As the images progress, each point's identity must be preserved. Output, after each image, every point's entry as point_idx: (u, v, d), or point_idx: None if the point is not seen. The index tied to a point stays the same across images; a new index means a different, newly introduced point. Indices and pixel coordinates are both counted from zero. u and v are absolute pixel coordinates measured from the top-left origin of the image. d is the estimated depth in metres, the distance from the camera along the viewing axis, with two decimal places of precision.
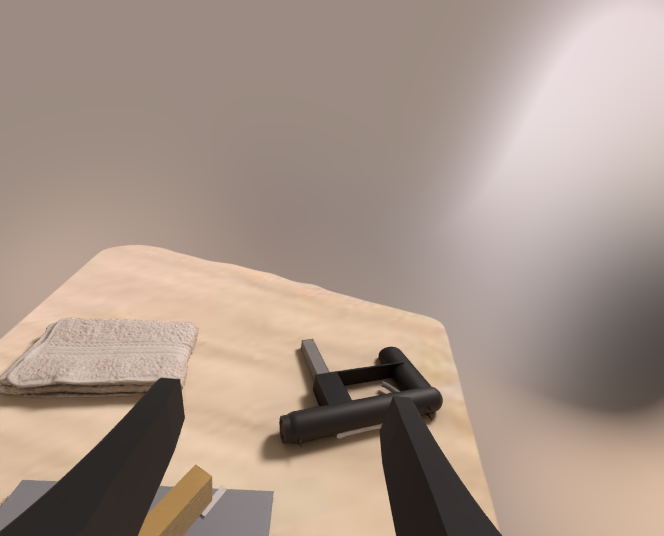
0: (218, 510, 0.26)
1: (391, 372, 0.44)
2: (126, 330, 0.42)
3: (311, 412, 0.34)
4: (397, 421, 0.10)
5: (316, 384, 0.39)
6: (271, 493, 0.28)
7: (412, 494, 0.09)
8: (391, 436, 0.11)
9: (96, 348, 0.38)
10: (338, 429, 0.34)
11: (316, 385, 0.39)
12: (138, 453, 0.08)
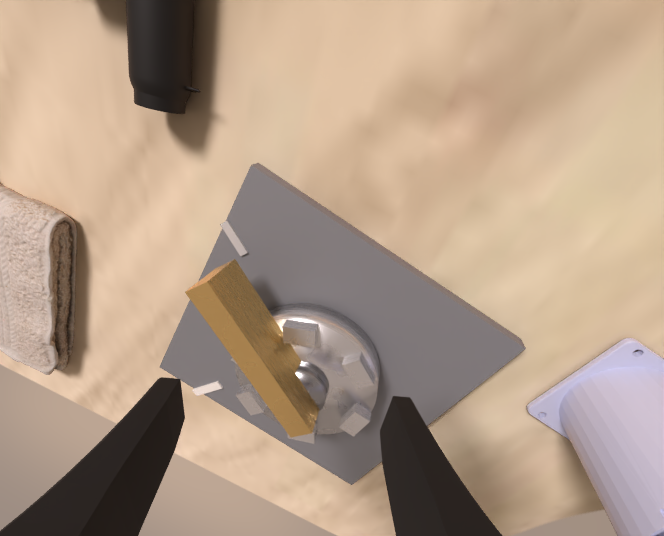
0: (246, 236, 0.21)
1: None
2: None
3: (136, 38, 0.16)
4: (397, 421, 0.10)
5: None
6: (252, 169, 0.19)
7: (412, 494, 0.09)
8: (391, 436, 0.11)
9: None
10: None
11: None
12: (138, 453, 0.08)
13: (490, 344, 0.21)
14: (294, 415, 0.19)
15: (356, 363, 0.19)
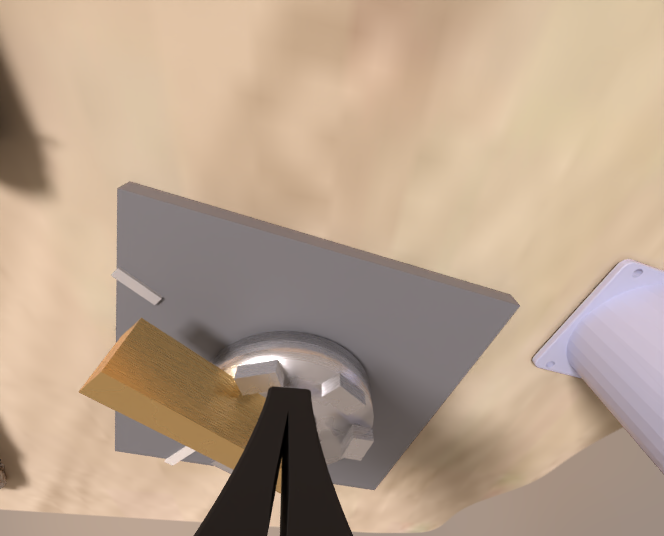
0: (152, 279, 0.16)
1: None
2: None
3: None
4: None
5: None
6: (122, 193, 0.14)
7: (285, 488, 0.09)
8: (285, 429, 0.10)
9: None
10: None
11: None
12: (278, 461, 0.09)
13: (481, 313, 0.17)
14: None
15: (338, 390, 0.16)
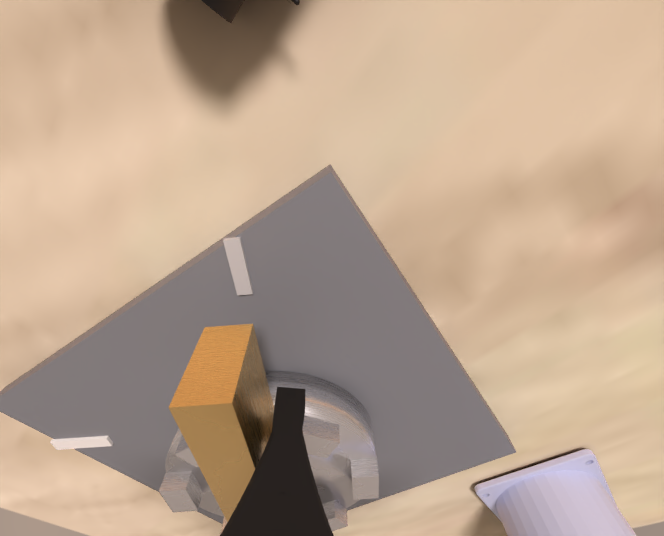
0: (262, 271, 0.12)
1: None
2: None
3: None
4: None
5: None
6: (329, 179, 0.11)
7: None
8: None
9: None
10: None
11: None
12: None
13: (489, 444, 0.19)
14: None
15: (372, 478, 0.15)
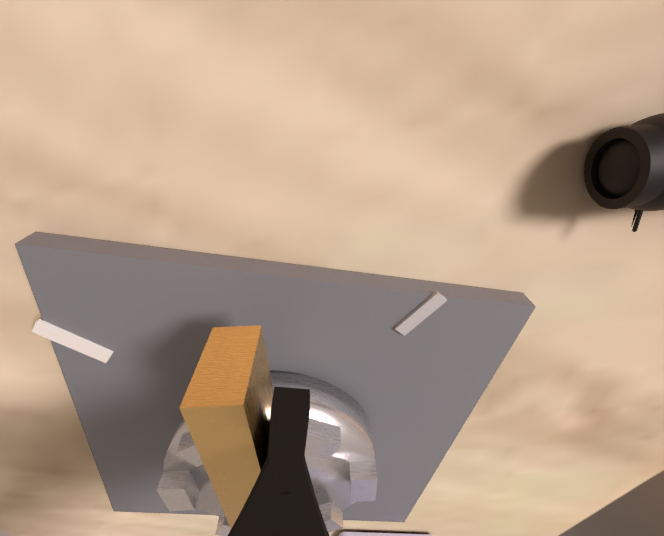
0: (427, 325, 0.14)
1: None
2: None
3: None
4: (271, 412, 0.10)
5: None
6: (529, 309, 0.14)
7: None
8: None
9: None
10: None
11: None
12: None
13: (396, 510, 0.23)
14: None
15: (370, 480, 0.15)
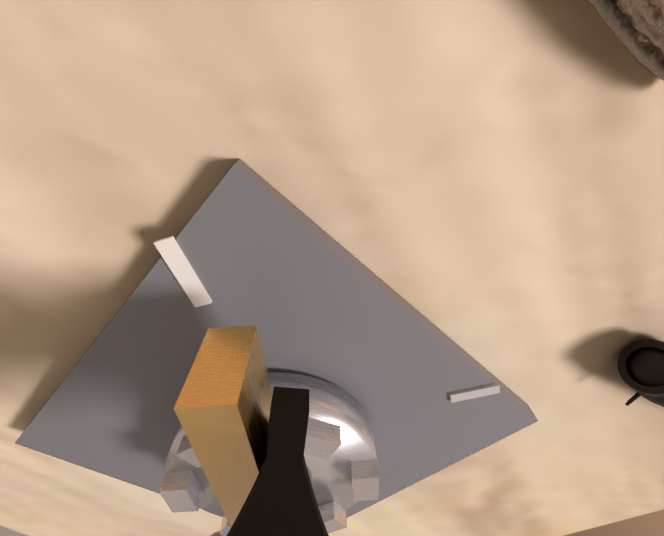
0: (469, 402, 0.17)
1: None
2: None
3: None
4: None
5: None
6: (533, 420, 0.18)
7: None
8: (268, 428, 0.10)
9: None
10: None
11: None
12: None
13: None
14: None
15: (372, 479, 0.15)
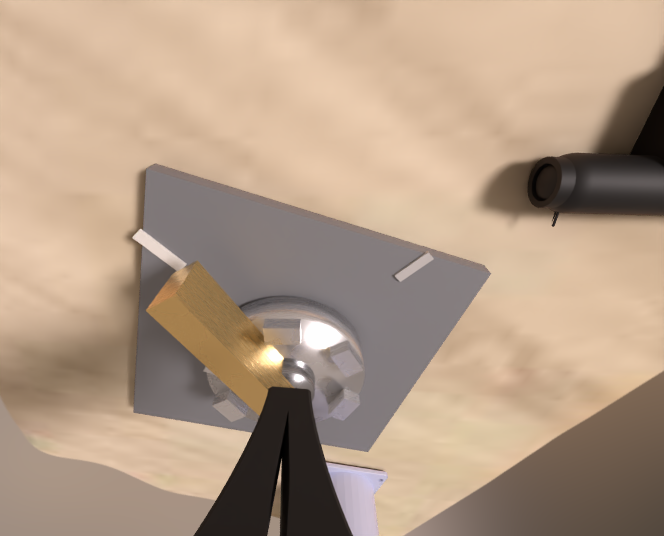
0: (417, 277, 0.20)
1: None
2: None
3: (624, 188, 0.15)
4: None
5: None
6: (486, 275, 0.20)
7: (285, 488, 0.09)
8: (285, 429, 0.10)
9: None
10: None
11: None
12: (278, 461, 0.09)
13: (363, 439, 0.28)
14: None
15: (345, 353, 0.19)
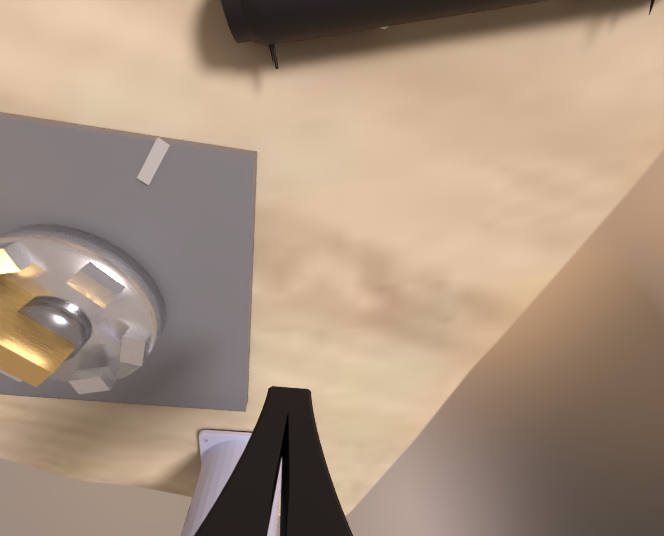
0: (167, 176, 0.16)
1: None
2: None
3: None
4: None
5: None
6: (250, 159, 0.16)
7: (285, 488, 0.09)
8: (285, 429, 0.10)
9: None
10: (376, 26, 0.13)
11: None
12: (278, 461, 0.09)
13: (231, 396, 0.25)
14: (16, 358, 0.15)
15: (80, 275, 0.16)
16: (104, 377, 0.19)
